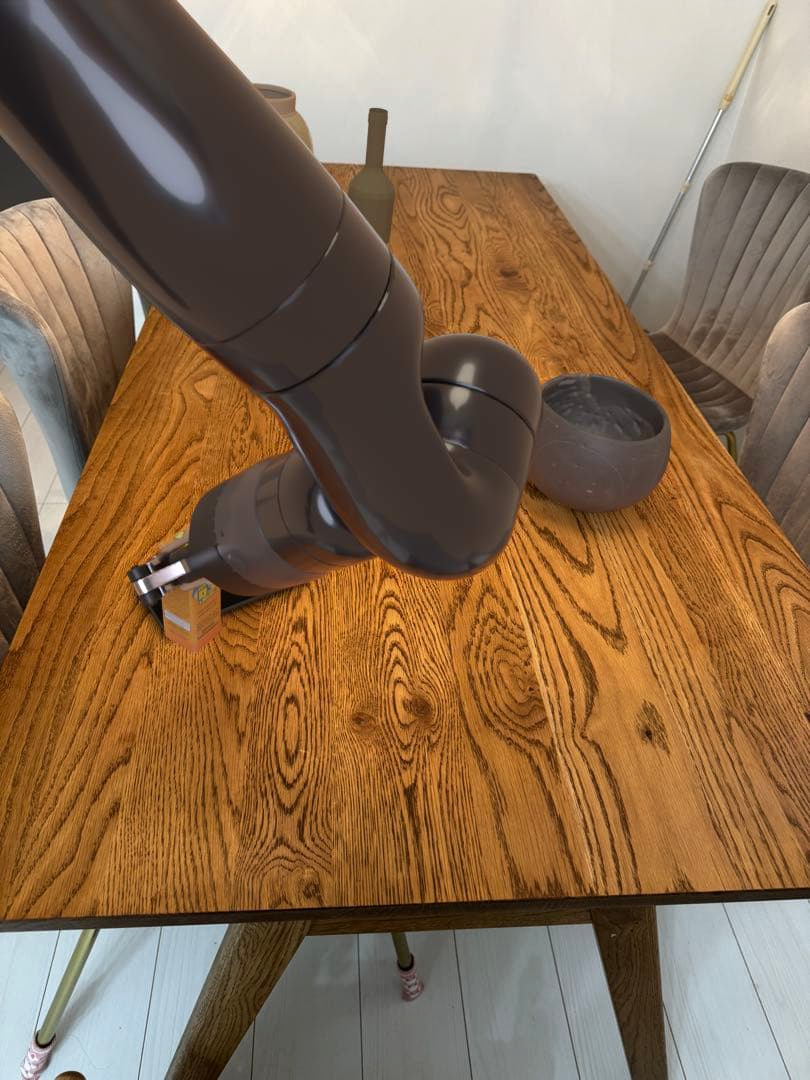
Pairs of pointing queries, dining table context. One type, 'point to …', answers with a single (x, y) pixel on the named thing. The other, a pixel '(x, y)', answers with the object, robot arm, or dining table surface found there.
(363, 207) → the bottle
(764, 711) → the dining table surface
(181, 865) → the dining table surface
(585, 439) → the bowl
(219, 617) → the supplement box
